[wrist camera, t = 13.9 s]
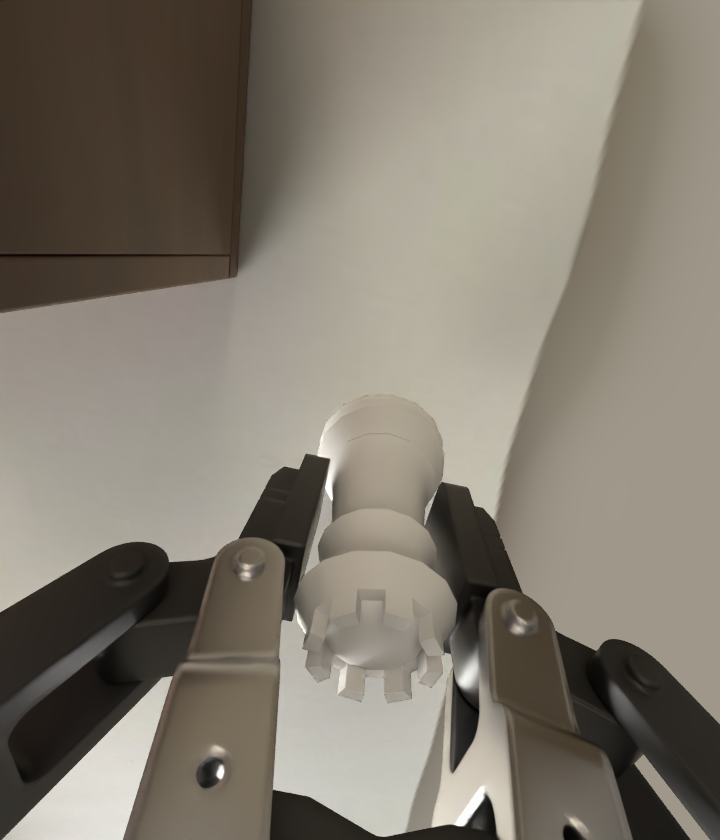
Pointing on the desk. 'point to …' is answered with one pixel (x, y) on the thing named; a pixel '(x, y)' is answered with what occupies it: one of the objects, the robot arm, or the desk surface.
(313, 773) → the desk surface
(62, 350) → the desk surface
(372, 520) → the rook chess piece
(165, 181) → the chest
